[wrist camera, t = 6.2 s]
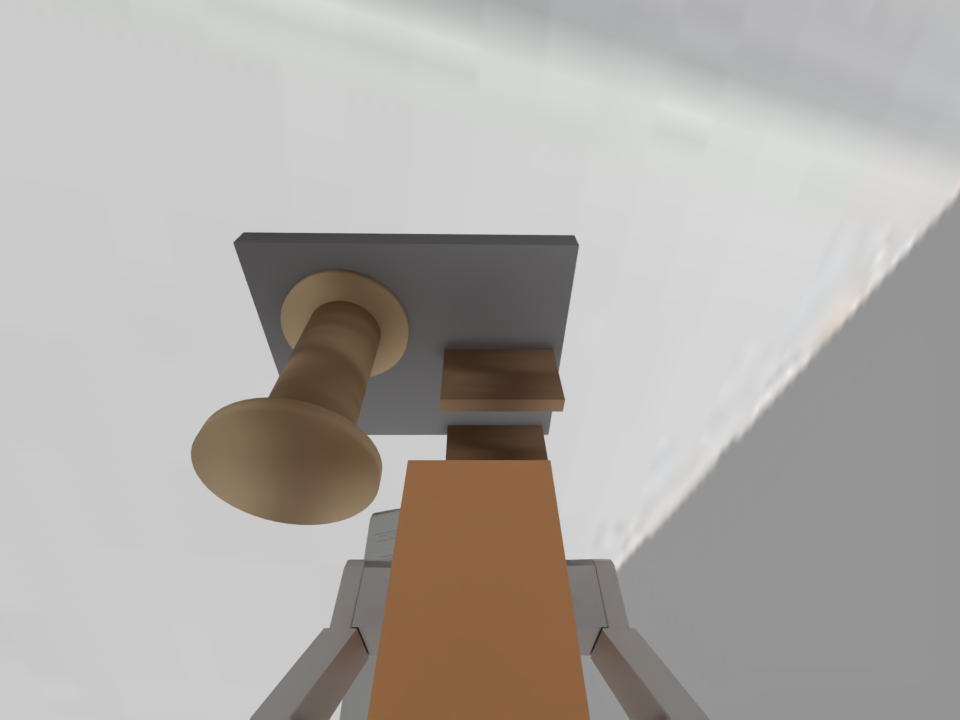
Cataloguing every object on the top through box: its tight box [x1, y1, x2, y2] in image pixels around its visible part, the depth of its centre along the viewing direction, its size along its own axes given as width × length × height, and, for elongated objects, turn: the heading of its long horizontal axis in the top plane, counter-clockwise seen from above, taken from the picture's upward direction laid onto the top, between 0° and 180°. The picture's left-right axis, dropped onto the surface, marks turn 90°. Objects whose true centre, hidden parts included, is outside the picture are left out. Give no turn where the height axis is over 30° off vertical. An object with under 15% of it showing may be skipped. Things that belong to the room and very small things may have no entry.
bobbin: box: [191, 269, 409, 525], centre depth 20 cm, size 6×6×10 cm
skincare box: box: [339, 508, 400, 720], centre depth 32 cm, size 8×6×15 cm
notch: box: [440, 349, 565, 460], centre depth 25 cm, size 6×7×4 cm
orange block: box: [367, 460, 590, 720], centre depth 11 cm, size 4×4×7 cm
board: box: [233, 232, 579, 435], centre depth 25 cm, size 16×13×1 cm
